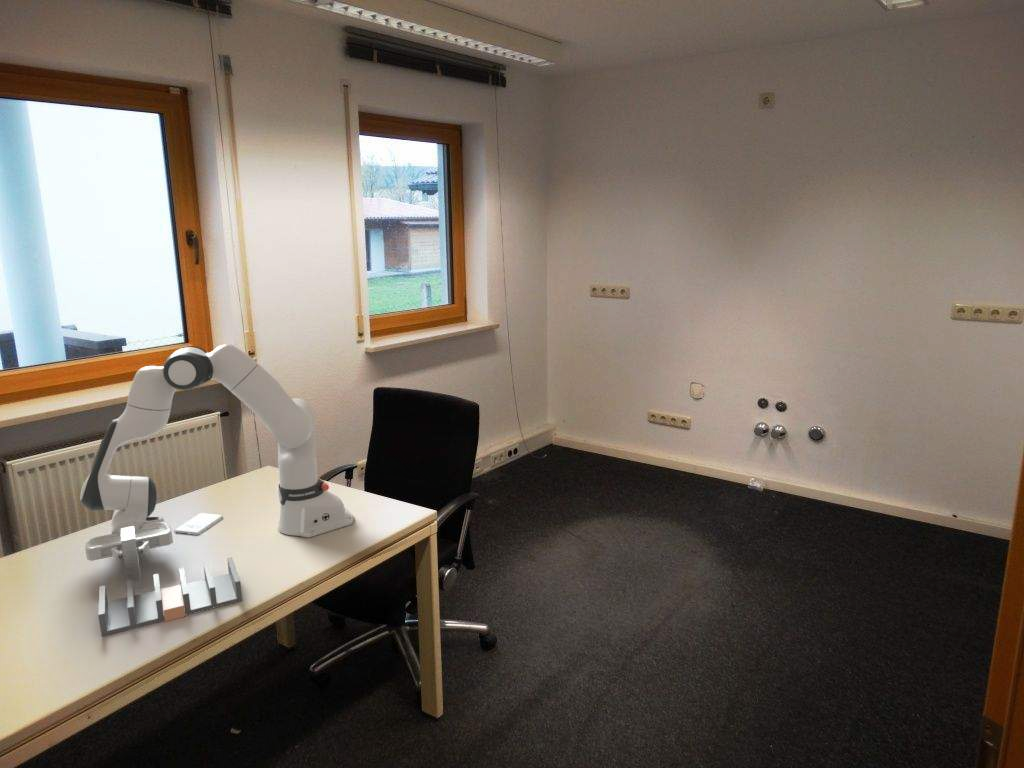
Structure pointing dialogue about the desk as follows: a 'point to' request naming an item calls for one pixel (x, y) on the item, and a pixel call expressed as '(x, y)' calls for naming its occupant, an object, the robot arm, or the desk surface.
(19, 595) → the desk surface
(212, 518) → the external hard drive
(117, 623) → the rack
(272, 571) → the desk surface
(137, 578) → the panel
